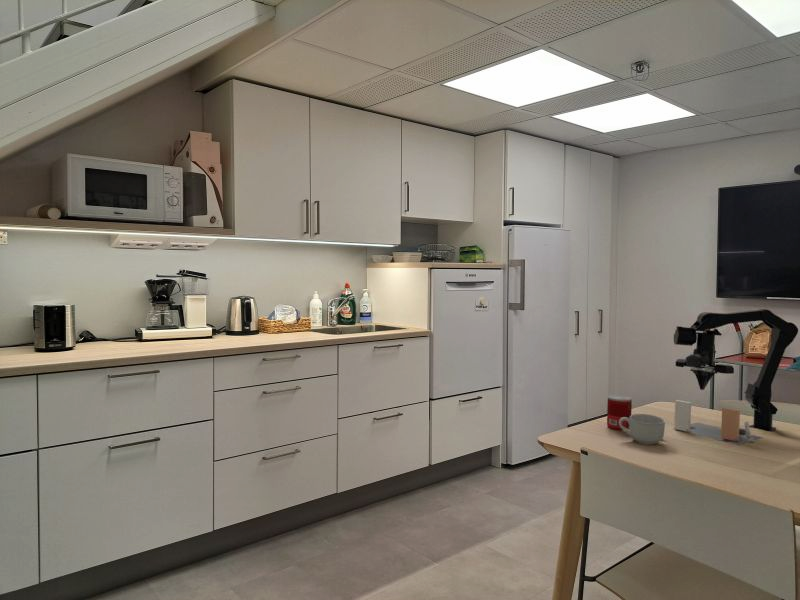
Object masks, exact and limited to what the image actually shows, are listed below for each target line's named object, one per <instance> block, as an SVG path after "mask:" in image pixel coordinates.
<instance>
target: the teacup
mask: <svg viewBox="0 0 800 600" xmlns="http://www.w3.org/2000/svg"><path fill="white" fill-rule="evenodd" d="M624 420H626V421H627V422H628V424H629V426H630V427H629V428H625V427H623V425H622V421H624ZM619 426H620V427H621V428H622V429H623V430H624V432H626V433H627V435H629V436H631V438H632V439H633V440H634V441H635V442H637V443H639V444H643V445H649V446H650V445H657V444H658V443H660V442H661V441H662V440H663V439H664V437H665V426H666V420H665V419H664V418H662V417H660V416H657V415H653V414H647V413H634V414H631V416H630V419H629V418H627V417H622V418H621V419H620V420H619ZM628 429H629V430H628Z"/></svg>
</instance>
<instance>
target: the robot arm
mask: <svg viewBox="0 0 800 600" xmlns="http://www.w3.org/2000/svg"><path fill="white" fill-rule="evenodd" d="M751 322H752V323H753V322H762V323H763V324H765V326H767V327H768V328H770V329H771V331H770V346H769V347H768V351H767V353H766V356H765V358H764V361H763V364H762V366H761V368H760V372H759V374H758V377H757V379H756V381H754V383H753V384H752V383H750V382H748V384H747V388H746V390H745V391H744V394H745V397H744V398H745V400H746V401H747V403H748V404H749V405H750V407H751V408H752V410H753V420H752V421H753V424H751V425H750V424H749V428H752V429H757V430H762V431H766V432H771V431H774V430H777V427H776V426H773V416H774V415H776V414H777V412H778V410H779V409H778V408H777V407H776V405H774V404H773V403H772V402H771V400H772V394H773V393H772V384H773V382H774V380H775V377H776V374H777V371H778V370H779V366H780V365H781V364H780V363H781V361H782V359H783V357H784V354H785V351H786V349H787V348H788V347H789V346H790V345H791V344H792V343H793V342H794V341H795V339H796V337H797V335H798V333H799V328H798V327H797V325H796V324H795V323H793V322H789V321H786V320H785V319H784V318H781V317H780V316H778V315H777V314H775V313H774V312H772V311H771V310H769V309H766V308H760V309H756V310H755V309H753V310H746V311H734V312H726V313H725V312H723V313H722V312H720V313H719V312H710V311H709V312H708V311H703V312H701V313H699V314H698V316H697V318H696V321H694V323H692V325H691V326H690V327H687V326H686V327H684V326H678V325H677V326H676V329H675V331H674V334H673V343H674V345H676V346H677V345H679V346H686V347H687V346H689V347H691V346H693V345H696V347H695V348H694V349H693V352H692V354H689V355H688V356H686V357H685V358H677V360H676V361H675V367H679V368H684V367H687V368H690V369H689V371H690V372H692V373H693V374H694V375H695V378H696V381H697V383H698V387H699V390H700V391H701V390H702V391H704V390H705V389H706V387H707V385H708V384H709V382H710V380H711V379H712V378H713V376H714V375H716V374H731V375H733V374H735V368H734V366H733V365H729V364H723V363H721V364H720V363H716V362H715V361H714V357H715V354H716V353H717V350H715V340H716V336H719V337H720V336H722V333H721V332H720V330H719V329H718V328H721V327H724V326H725V325H730V324H741V323H751Z"/></svg>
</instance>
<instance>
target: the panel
mask: <svg viewBox="0 0 800 600" xmlns="http://www.w3.org/2000/svg"><path fill="white" fill-rule="evenodd" d="M749 426H750V423H749V421H745V422H744V427H745V429H744V428H741V427H739V439H738V440H735V441H732V440H728V439H724V438H721V436H722V435H721V427H719V426H715V425H711V424H710V425H709V424H706V423H702V422H694V423H690V430H688V431H682V430H678V429H674V427H673V428H672V430H675V431H680V432H684V433H687V434H692V435H695V436H701V437H703V438H708V439H713V440H716V441H721V442H724V443H729V444H733V445H737V446H741V445H744V444H747V443H752V442H754V441H756V440H760V439H762V438H763V436H758V435H754V434H751V431H750V430H751V429H750V428H751V427H749ZM763 439H764V438H763Z"/></svg>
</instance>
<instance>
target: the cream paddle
mask: <svg viewBox="0 0 800 600" xmlns="http://www.w3.org/2000/svg"><path fill="white" fill-rule="evenodd" d="M674 402H675V403H674V420H673V421H674V424H673V425H674V427H673V428H674V429H673V430H675V429H678V430H677V431H679V430H682V431H681V432H683V431H688V430H690V424H692V423H691V422H692V421H691V420H692V419H691V416H692V415H691V414H692V402H690V401H686V400H678V399H676V400H674Z"/></svg>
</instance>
